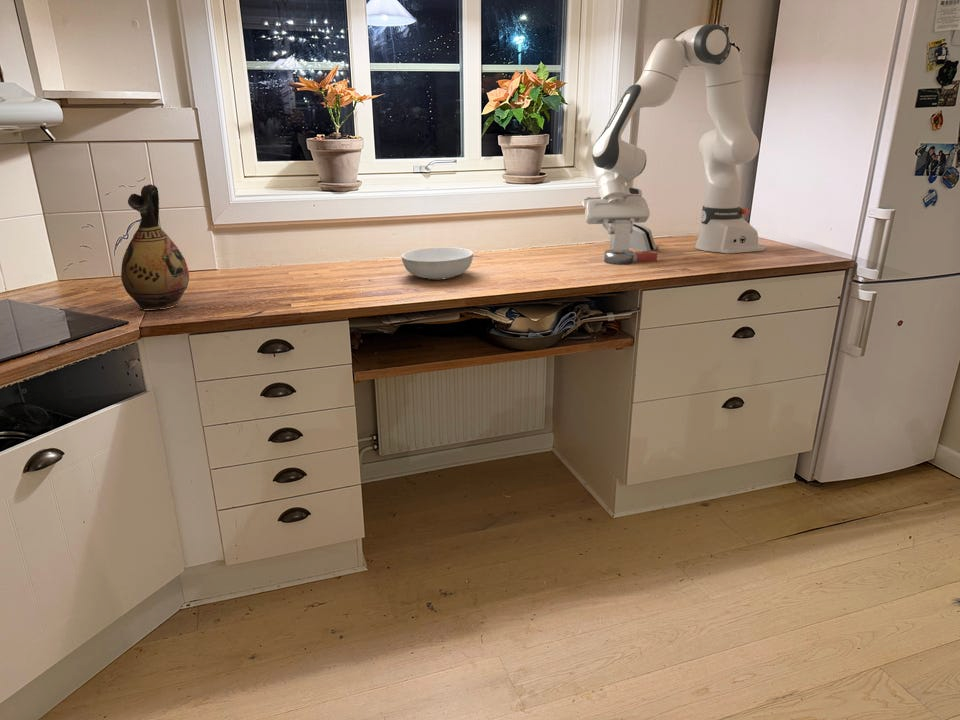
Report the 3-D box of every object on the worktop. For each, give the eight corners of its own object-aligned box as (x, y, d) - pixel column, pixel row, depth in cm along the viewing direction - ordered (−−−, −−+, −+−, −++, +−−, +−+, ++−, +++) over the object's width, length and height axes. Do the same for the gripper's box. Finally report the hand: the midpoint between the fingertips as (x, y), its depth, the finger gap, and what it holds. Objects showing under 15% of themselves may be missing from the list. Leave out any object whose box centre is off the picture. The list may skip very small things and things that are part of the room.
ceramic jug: (182, 313, 167) (160, 188, 157) (117, 315, 166) (91, 190, 156) (203, 295, 183) (185, 181, 173) (144, 297, 182) (122, 182, 171)
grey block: (624, 247, 217) (625, 218, 214) (629, 250, 212) (630, 221, 209) (609, 247, 216) (611, 219, 213) (614, 250, 212) (615, 221, 209)
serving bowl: (432, 265, 214) (431, 244, 212) (487, 273, 203) (487, 251, 200) (387, 279, 198) (386, 255, 196) (444, 288, 187) (443, 263, 185)
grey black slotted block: (660, 251, 230) (654, 224, 226) (649, 257, 229) (643, 230, 224) (628, 243, 244) (622, 217, 240) (618, 248, 243) (611, 223, 238)
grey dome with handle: (650, 257, 221) (651, 234, 219) (660, 262, 213) (662, 239, 210) (600, 259, 220) (601, 235, 217) (608, 265, 211) (610, 240, 209)
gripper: (583, 191, 214) (590, 227, 208) (646, 189, 216) (655, 225, 210) (579, 204, 220) (586, 239, 214) (640, 202, 222) (649, 237, 216)
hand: (620, 232), depth 212 cm, fingers closed on grey block, 5 cm apart
